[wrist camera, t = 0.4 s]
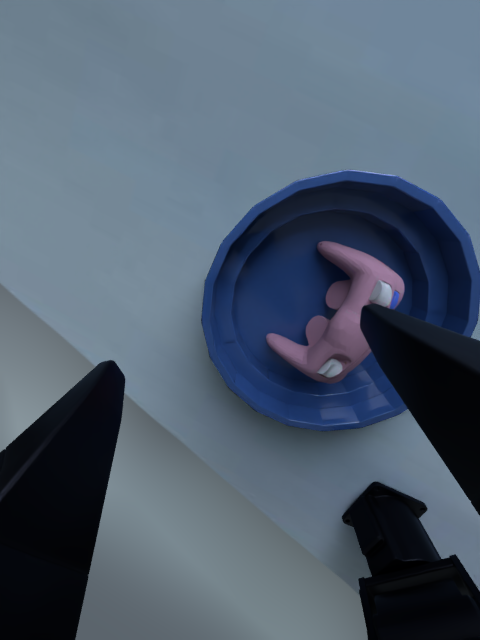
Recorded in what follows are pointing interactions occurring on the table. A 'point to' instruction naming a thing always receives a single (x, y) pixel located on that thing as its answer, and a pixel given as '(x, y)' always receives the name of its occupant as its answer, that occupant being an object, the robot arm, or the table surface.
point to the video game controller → (341, 316)
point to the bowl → (316, 278)
